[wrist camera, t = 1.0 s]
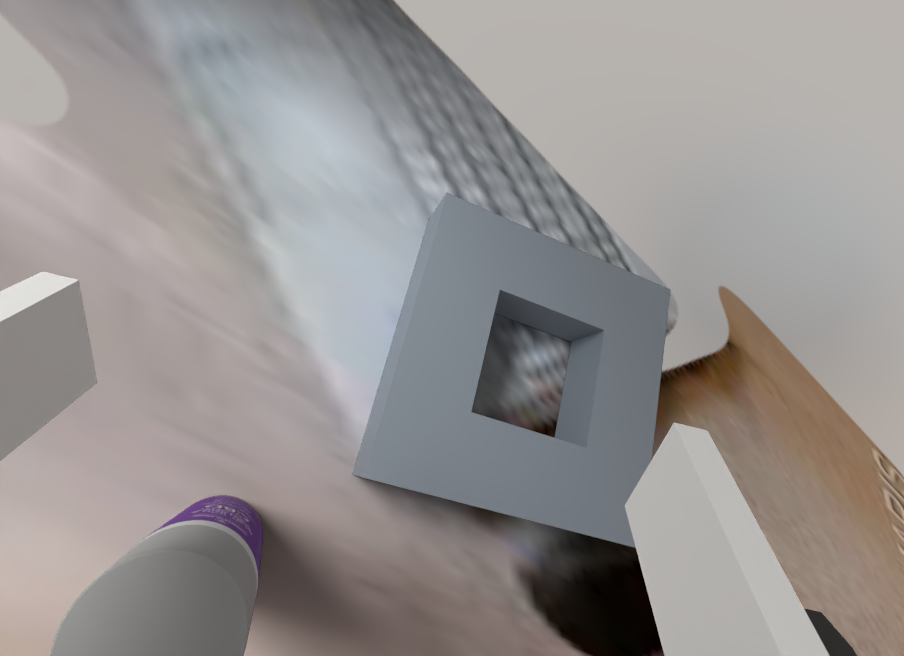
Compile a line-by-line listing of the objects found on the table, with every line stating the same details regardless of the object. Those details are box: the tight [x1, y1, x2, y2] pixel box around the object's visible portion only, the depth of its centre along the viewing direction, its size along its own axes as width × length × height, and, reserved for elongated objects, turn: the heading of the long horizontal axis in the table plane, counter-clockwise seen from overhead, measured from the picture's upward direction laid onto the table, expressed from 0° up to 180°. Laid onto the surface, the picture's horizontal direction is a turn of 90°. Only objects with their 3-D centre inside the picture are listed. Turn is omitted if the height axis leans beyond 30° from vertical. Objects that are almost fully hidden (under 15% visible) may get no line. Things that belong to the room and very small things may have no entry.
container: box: [50, 495, 263, 656], centre depth 19 cm, size 5×5×15 cm
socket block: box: [353, 193, 670, 548], centre depth 33 cm, size 18×18×4 cm
